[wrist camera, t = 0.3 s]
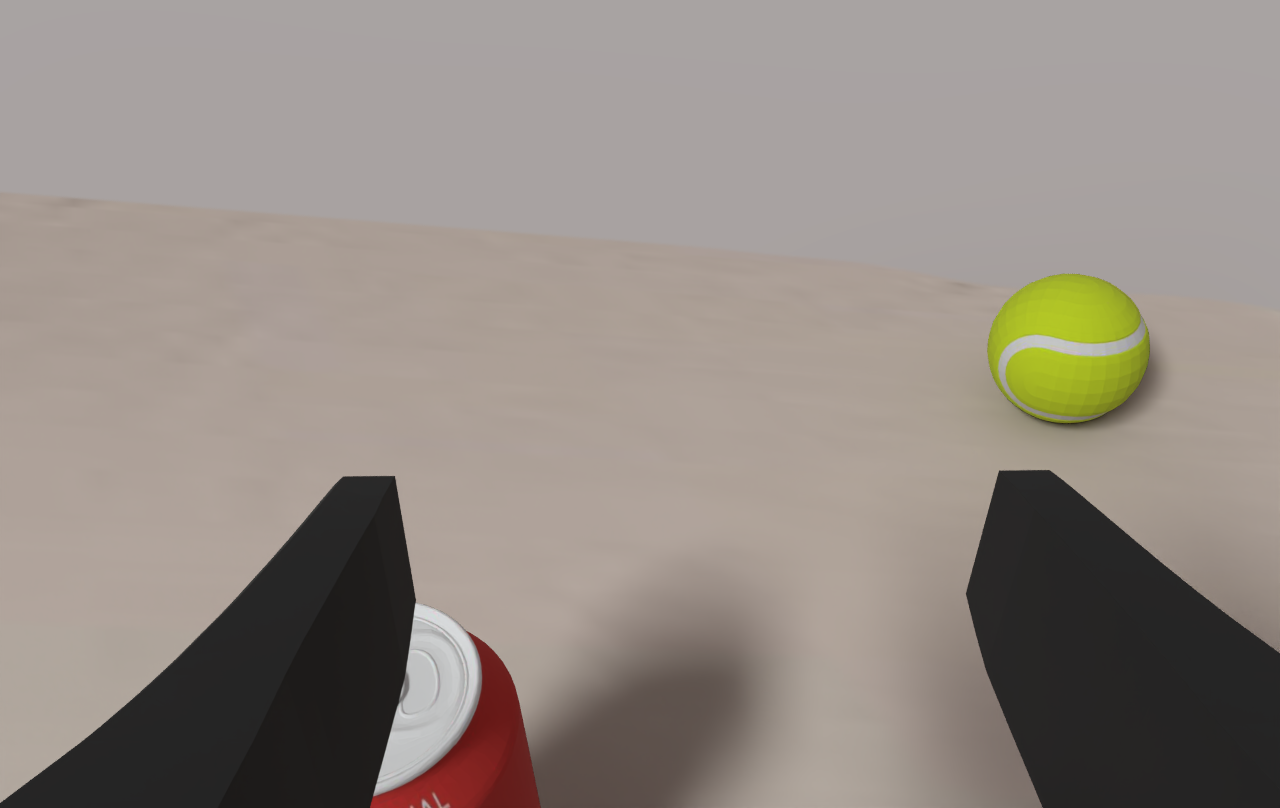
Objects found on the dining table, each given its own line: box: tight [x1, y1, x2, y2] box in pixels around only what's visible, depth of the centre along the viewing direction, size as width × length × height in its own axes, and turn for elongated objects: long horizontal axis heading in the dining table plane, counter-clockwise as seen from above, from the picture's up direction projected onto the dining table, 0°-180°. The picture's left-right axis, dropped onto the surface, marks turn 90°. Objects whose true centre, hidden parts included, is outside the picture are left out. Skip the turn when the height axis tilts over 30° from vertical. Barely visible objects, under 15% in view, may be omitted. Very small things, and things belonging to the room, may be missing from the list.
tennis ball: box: [987, 274, 1150, 423], centre depth 45 cm, size 7×7×7 cm
